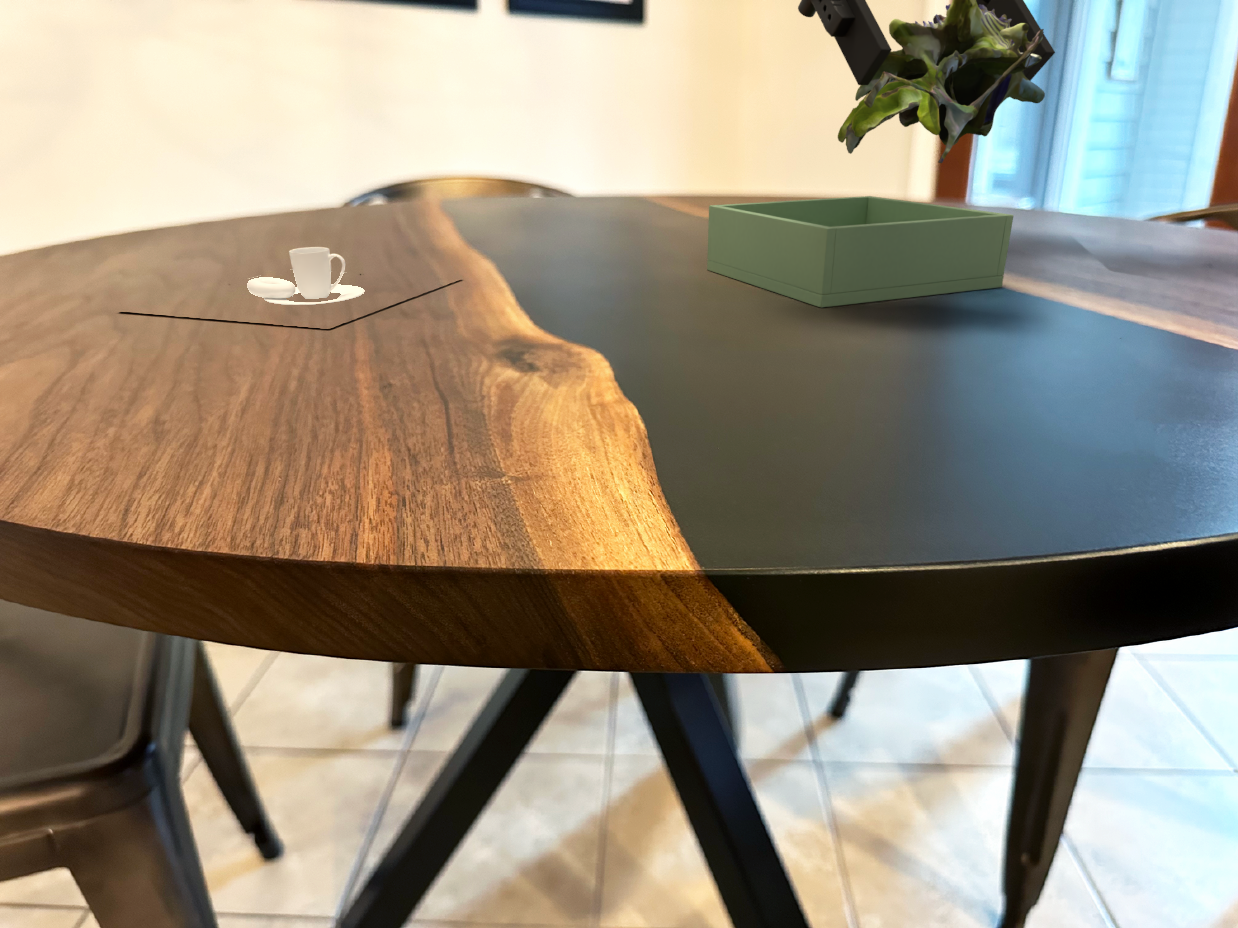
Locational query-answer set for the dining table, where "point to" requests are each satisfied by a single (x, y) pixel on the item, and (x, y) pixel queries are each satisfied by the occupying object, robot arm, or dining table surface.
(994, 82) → the green leafy lump
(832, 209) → the green open box
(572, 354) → the dining table surface
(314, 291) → the teacup and saucer
